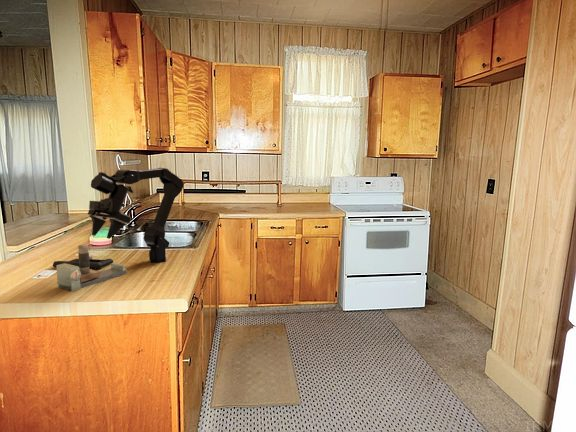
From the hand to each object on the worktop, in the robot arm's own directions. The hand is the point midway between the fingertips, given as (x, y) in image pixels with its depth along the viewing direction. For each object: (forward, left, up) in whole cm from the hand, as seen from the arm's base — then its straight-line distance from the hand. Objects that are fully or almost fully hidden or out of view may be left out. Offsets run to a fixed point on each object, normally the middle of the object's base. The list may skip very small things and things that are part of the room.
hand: (100, 236), depth 134 cm
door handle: (+10, -19, -16) cm, 27 cm away
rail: (+2, +3, -16) cm, 16 cm away
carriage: (+5, +6, -14) cm, 16 cm away
